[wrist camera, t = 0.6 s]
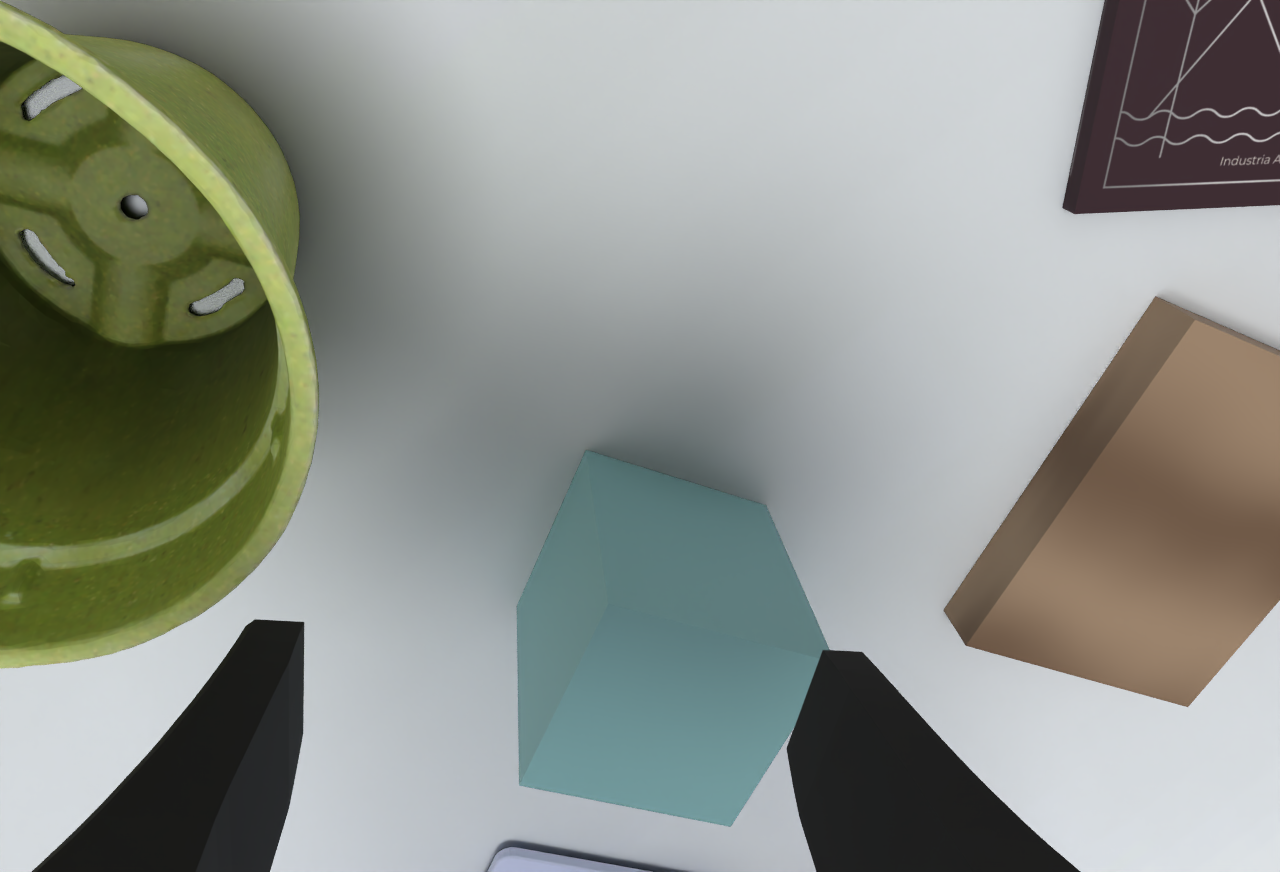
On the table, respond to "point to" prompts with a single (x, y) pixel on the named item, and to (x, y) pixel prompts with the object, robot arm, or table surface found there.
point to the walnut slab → (1144, 519)
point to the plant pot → (140, 346)
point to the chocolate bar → (1180, 108)
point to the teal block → (660, 646)
